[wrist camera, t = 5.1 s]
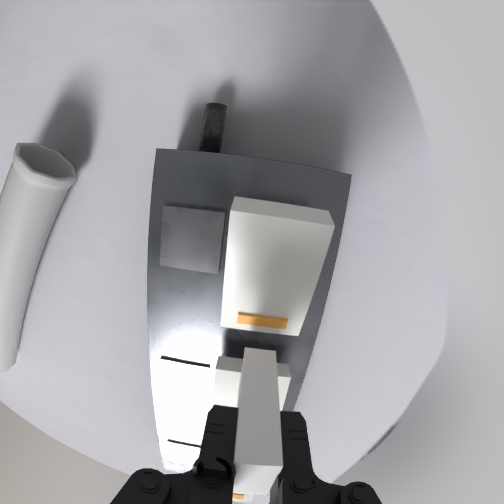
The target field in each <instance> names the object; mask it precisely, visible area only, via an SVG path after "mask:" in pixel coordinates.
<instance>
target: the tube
mask: <svg viewBox="0 0 504 504" xmlns="http://www.w3.org/2000/svg"><path fill="white" fill-rule="evenodd" d="M77 180H78V179H77V176H76V173H75V169H74V166H73V164H71V163H70V162H69V161H68V160H67V159H66V158H65V157H64V156H63V155H61V154H60V153H59V152H58V151H56V150H53V149H50V148H48V147H45V146H42V145H40V144H37V143H17V145H16V147H15V150H14V157H13V162H12V165H11V167H10V170H9V173H8V175H7V178H6V181H5V184H4V187H3V190H2V194H1V197H0V372H6V371H7V370H8V369H9V368H10V367H11V366H13V365H14V364H15V363H16V357H17V351H18V345H19V339H20V334H21V328H22V324H23V319H24V314H25V310H26V306H27V302H28V298H29V294H30V291H31V287H32V284H33V280H34V277H35V274H36V270H37V267H38V264H39V261H40V258H41V255H42V252H43V250H44V247H45V244H46V241H47V239H48V236H49V234H50V231H51V228H52V226H53V224H54V221H55V219H56V216H57V214H58V212H59V209H60V207H61V205H62V203H63V201H64V198H65V196H66V194H67V192H68V190H69V188H70V187H71V186H72V185H75V183H76V181H77Z"/></svg>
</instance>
